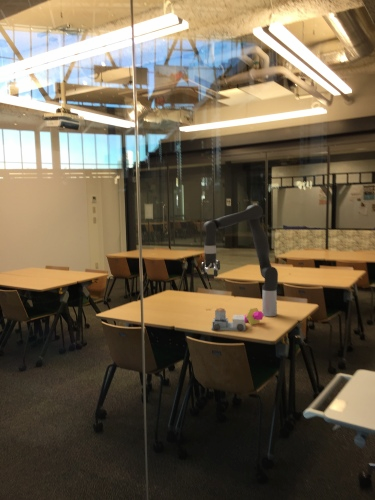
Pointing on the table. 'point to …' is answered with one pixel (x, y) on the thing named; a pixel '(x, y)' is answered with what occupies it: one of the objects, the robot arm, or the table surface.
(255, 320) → the toy
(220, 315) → the engine block
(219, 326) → the chassis
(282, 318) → the table surface
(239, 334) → the table surface
